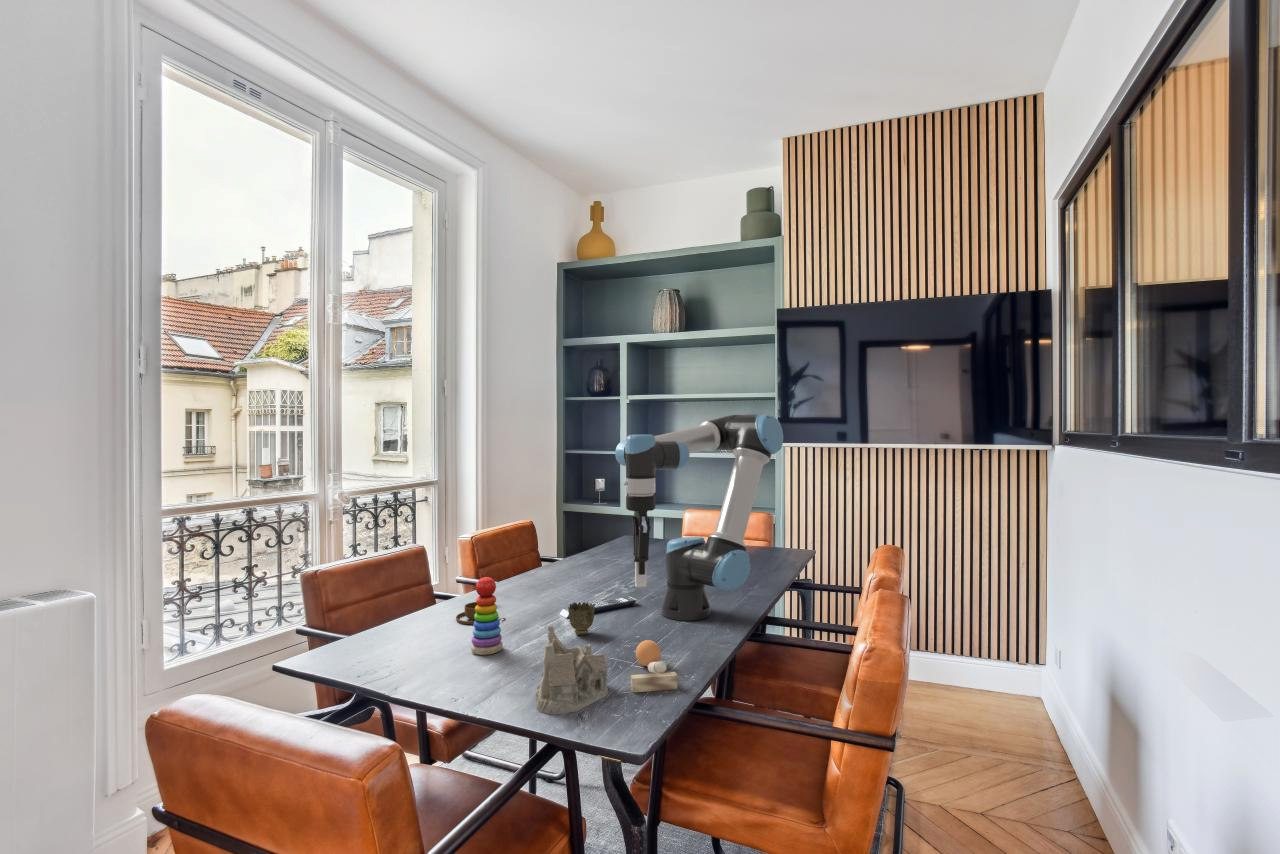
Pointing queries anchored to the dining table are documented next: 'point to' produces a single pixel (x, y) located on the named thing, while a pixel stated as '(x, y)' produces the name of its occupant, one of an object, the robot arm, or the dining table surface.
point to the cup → (581, 617)
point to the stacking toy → (486, 620)
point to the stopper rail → (653, 682)
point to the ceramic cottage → (569, 678)
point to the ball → (648, 652)
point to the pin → (657, 667)
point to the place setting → (469, 614)
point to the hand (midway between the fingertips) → (640, 586)
